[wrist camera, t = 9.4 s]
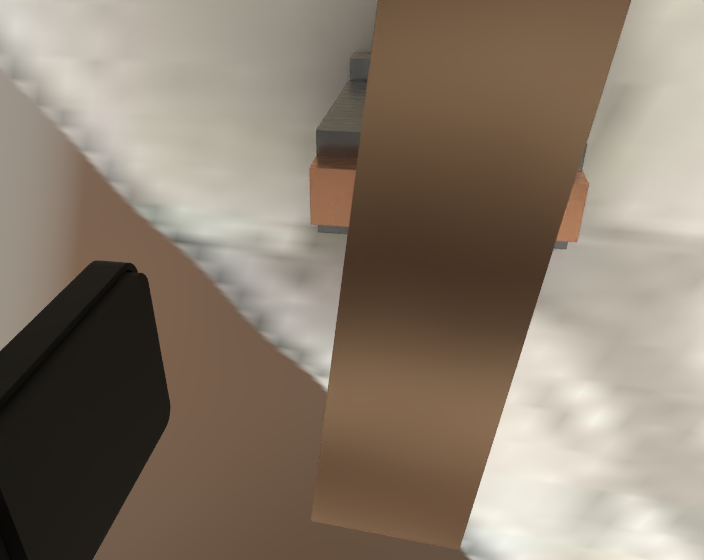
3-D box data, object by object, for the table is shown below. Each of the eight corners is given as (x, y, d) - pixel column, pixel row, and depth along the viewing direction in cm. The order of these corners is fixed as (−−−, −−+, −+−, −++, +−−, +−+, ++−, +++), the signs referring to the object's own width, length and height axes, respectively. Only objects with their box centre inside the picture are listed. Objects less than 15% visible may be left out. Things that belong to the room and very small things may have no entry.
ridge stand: (354, 52, 23) (308, 113, 16) (551, 59, 22) (600, 127, 15) (353, 168, 25) (311, 269, 18) (532, 178, 25) (567, 288, 17)
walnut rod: (419, -187, 13) (407, -230, 9) (624, -161, 12) (692, -195, 9) (334, 419, 21) (311, 520, 17) (457, 443, 20) (459, 549, 17)
